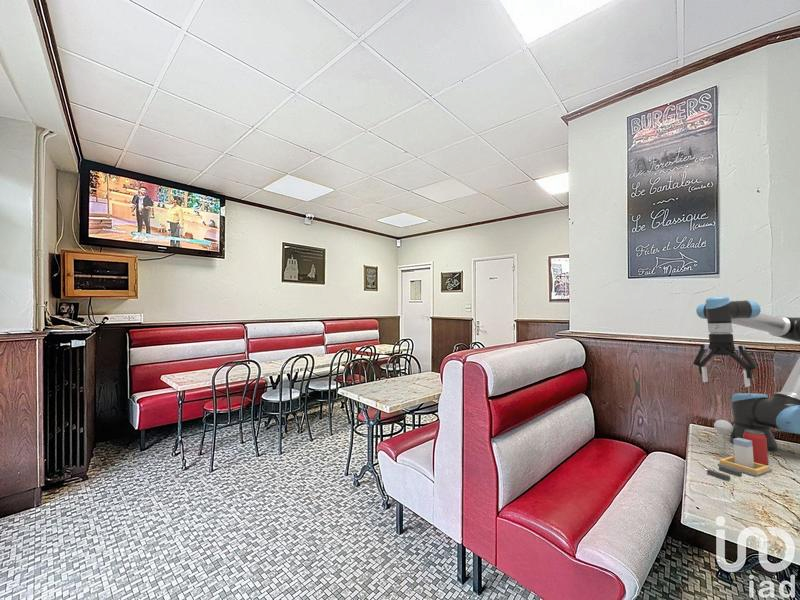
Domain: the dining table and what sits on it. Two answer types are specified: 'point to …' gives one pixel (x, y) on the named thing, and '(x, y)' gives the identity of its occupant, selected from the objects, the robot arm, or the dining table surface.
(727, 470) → the dark gray parallel bars
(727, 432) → the lollipop
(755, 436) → the beer can
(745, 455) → the plug
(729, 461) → the panel
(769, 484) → the dining table surface
